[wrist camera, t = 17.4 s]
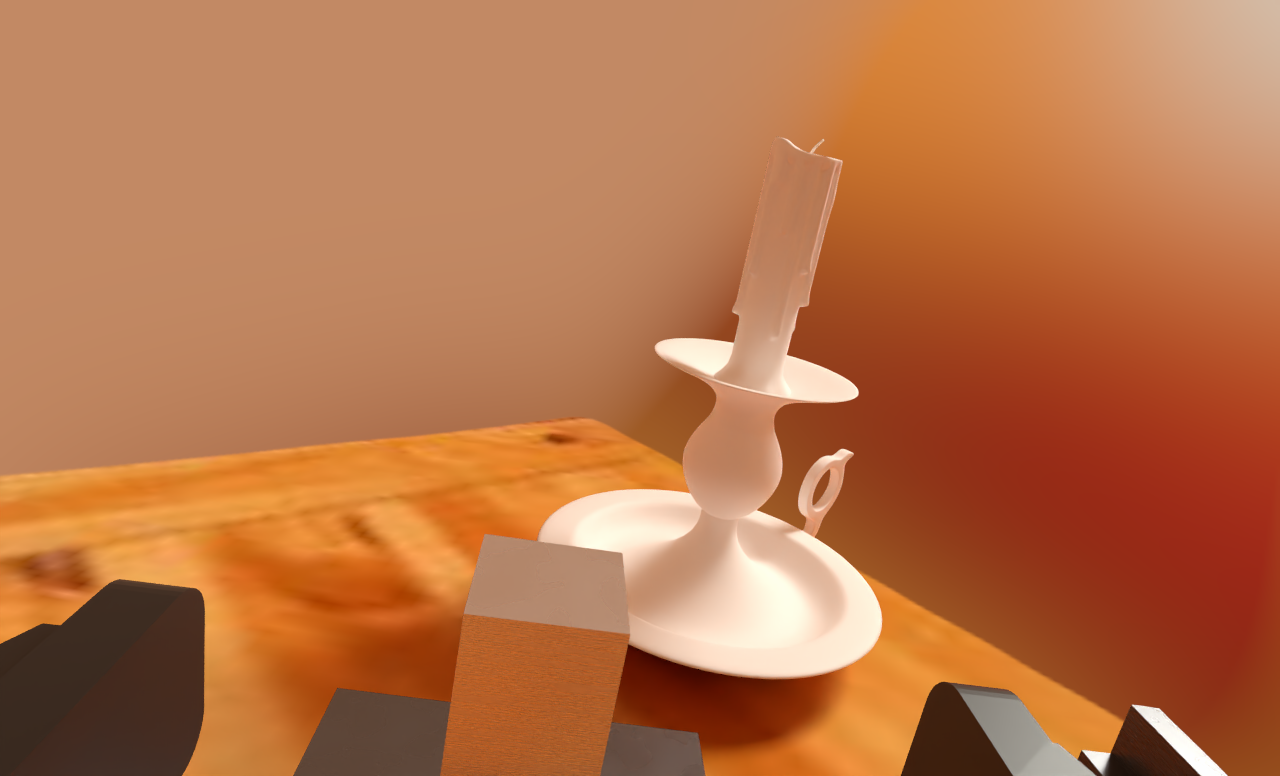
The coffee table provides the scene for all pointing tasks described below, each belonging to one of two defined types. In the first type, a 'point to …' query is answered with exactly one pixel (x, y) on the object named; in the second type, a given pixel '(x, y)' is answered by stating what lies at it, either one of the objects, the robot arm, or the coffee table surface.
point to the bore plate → (416, 731)
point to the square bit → (537, 661)
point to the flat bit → (1150, 749)
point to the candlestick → (744, 479)
